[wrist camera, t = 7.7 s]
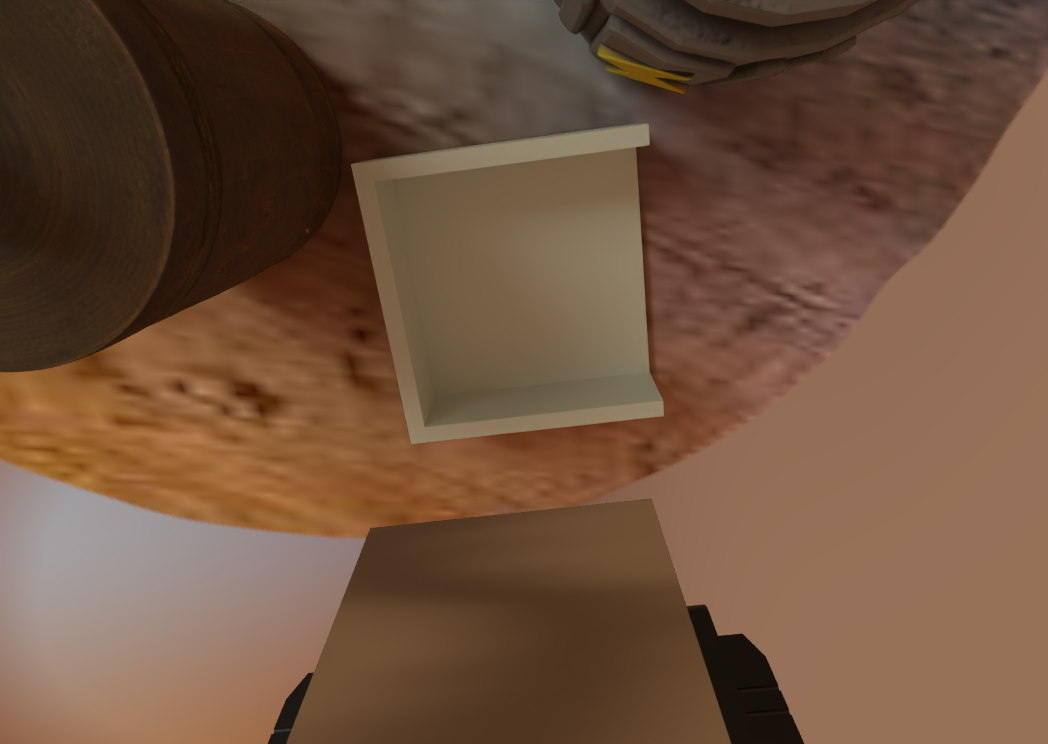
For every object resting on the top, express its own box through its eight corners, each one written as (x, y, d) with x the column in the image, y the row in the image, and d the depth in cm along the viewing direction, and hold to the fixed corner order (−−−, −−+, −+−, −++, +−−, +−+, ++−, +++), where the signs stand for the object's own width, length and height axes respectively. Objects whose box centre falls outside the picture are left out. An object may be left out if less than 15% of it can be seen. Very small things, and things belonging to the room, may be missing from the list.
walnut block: (422, 730, 13) (363, 1062, 9) (370, 528, 11) (261, 809, 7) (664, 708, 13) (741, 1040, 8) (651, 498, 11) (739, 769, 6)
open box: (424, 408, 43) (411, 444, 38) (373, 158, 37) (350, 164, 32) (649, 383, 42) (664, 416, 37) (633, 123, 36) (648, 124, 31)
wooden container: (44, 6, 34) (-678, -165, 14) (316, -16, 34) (-13, -228, 13) (125, 278, 40) (-307, 444, 19) (361, 262, 39) (176, 416, 19)
